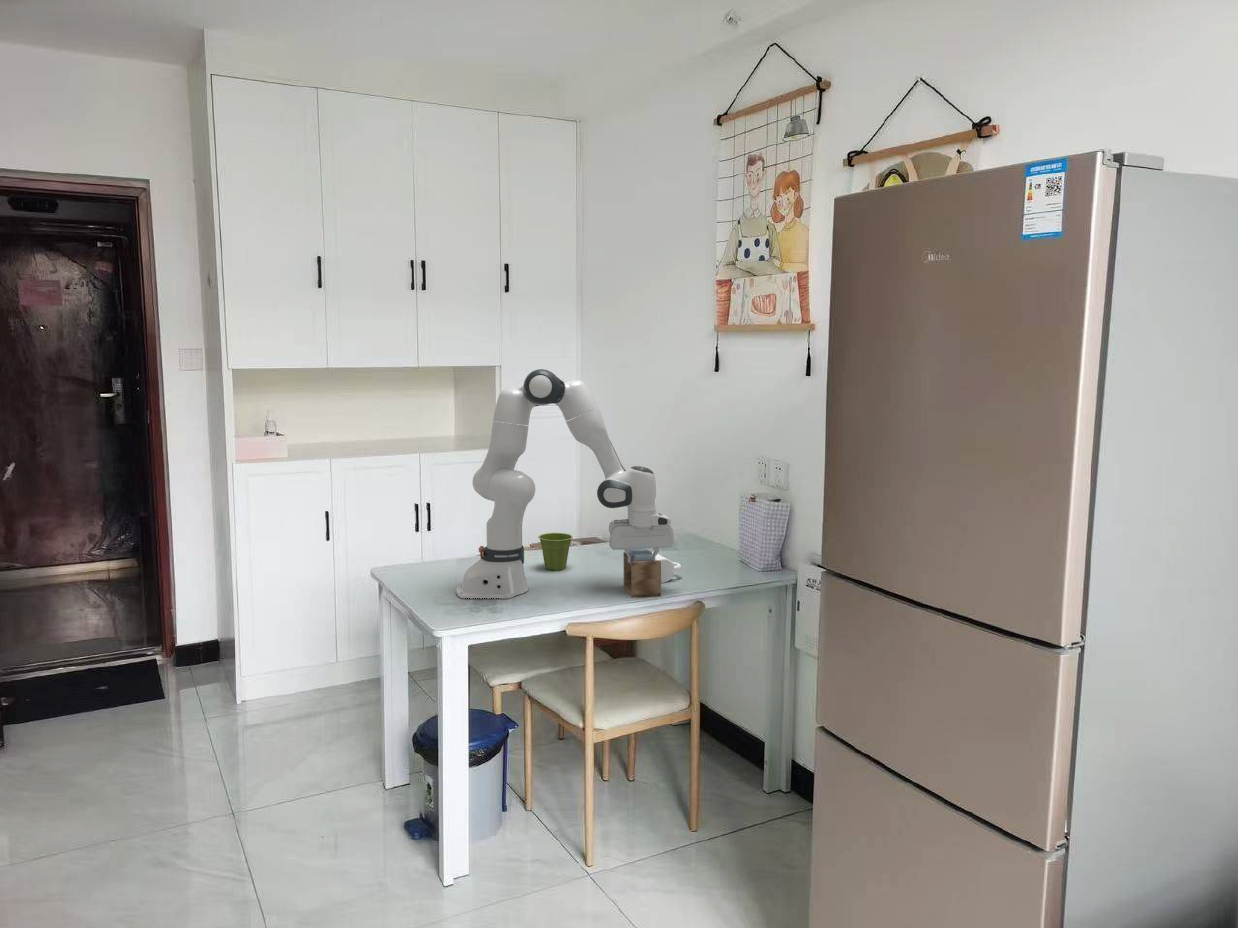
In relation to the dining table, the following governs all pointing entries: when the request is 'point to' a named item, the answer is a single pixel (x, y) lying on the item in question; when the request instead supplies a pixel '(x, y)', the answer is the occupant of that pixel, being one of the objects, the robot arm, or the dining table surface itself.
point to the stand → (642, 577)
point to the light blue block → (641, 555)
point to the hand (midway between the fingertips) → (641, 562)
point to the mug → (667, 568)
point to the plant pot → (555, 549)
